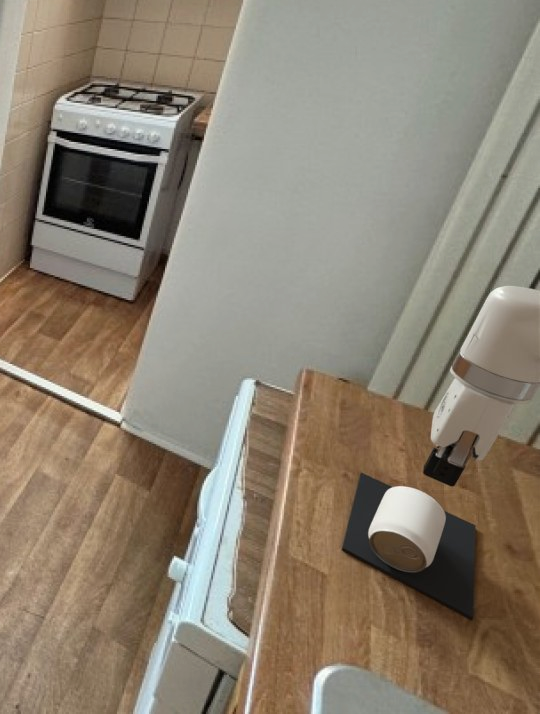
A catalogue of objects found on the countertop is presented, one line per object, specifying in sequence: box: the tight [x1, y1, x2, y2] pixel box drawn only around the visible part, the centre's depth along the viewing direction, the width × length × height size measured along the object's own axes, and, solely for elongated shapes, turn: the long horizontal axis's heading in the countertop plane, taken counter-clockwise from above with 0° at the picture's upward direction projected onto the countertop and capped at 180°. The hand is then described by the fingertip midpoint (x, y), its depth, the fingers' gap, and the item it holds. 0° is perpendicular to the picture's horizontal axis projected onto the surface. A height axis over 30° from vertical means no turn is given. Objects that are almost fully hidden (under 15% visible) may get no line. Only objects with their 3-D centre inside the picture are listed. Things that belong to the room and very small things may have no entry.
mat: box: [341, 472, 476, 621], centre depth 88 cm, size 13×20×1 cm, turn 132°
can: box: [368, 485, 446, 573], centre depth 86 cm, size 6×6×12 cm
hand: (438, 477), depth 87 cm, fingers closed
